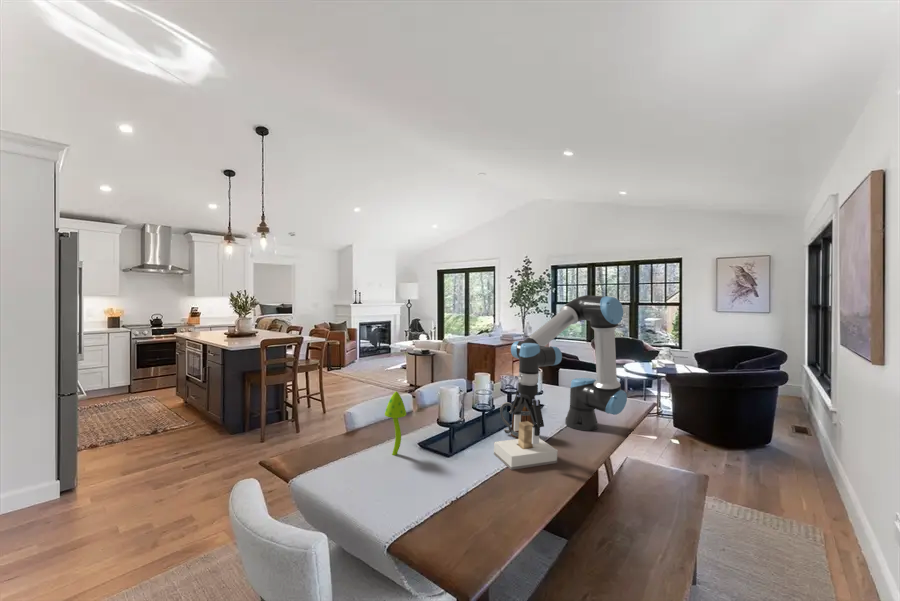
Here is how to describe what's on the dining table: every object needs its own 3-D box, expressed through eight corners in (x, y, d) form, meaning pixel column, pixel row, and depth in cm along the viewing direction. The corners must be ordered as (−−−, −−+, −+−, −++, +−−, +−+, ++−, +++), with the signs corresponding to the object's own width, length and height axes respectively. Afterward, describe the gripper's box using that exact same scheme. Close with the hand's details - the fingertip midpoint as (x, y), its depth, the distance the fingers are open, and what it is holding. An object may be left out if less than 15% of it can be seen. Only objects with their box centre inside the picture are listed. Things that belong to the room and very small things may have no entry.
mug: (532, 432, 188) (534, 400, 187) (535, 441, 177) (536, 407, 177) (498, 430, 190) (500, 398, 189) (499, 438, 179) (500, 405, 178)
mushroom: (388, 448, 164) (389, 387, 163) (407, 451, 163) (409, 389, 162) (380, 457, 156) (382, 393, 155) (401, 460, 155) (403, 395, 153)
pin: (526, 453, 162) (527, 421, 162) (531, 457, 159) (533, 424, 158) (517, 454, 161) (519, 422, 160) (523, 458, 157) (524, 425, 157)
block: (536, 448, 170) (537, 436, 170) (556, 462, 157) (557, 450, 157) (493, 454, 163) (494, 441, 163) (511, 469, 150) (511, 456, 149)
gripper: (504, 376, 169) (502, 426, 170) (537, 392, 145) (535, 450, 146) (520, 375, 171) (517, 424, 172) (555, 391, 148) (552, 448, 149)
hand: (525, 436), depth 159 cm, fingers open, 13 cm apart
